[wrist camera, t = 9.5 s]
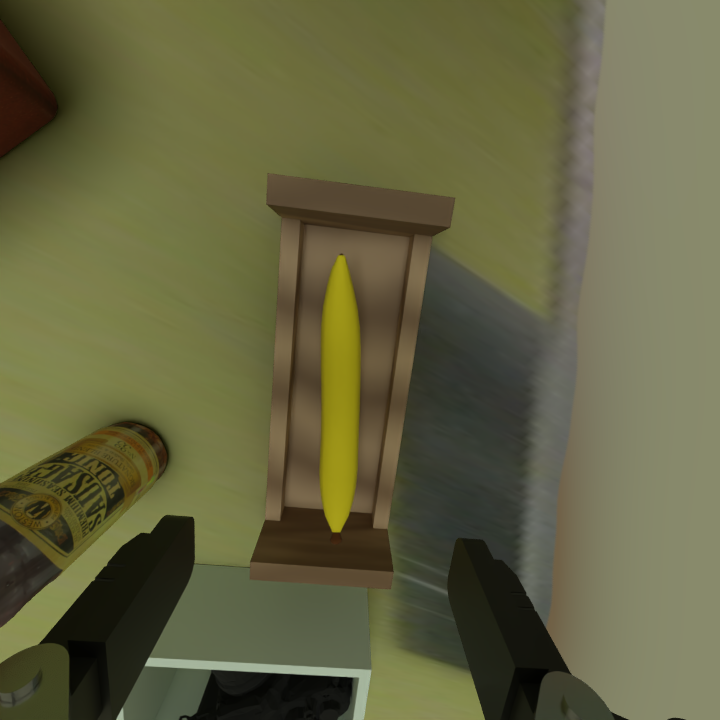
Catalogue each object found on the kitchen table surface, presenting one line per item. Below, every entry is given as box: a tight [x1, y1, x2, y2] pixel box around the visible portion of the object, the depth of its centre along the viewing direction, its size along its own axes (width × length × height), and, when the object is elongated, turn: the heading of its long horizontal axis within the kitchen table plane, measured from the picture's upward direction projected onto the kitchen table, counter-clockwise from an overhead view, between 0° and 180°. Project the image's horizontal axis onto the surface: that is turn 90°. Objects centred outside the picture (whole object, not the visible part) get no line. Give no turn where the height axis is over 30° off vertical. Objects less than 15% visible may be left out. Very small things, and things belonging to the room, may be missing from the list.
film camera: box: [179, 670, 353, 720], centre depth 29 cm, size 15×10×9 cm, turn 111°
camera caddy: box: [116, 564, 371, 720], centre depth 30 cm, size 14×19×8 cm
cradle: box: [249, 173, 455, 589], centre depth 24 cm, size 26×10×7 cm, turn 174°
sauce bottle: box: [0, 422, 167, 627], centre depth 19 cm, size 7×6×20 cm
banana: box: [319, 253, 361, 545], centre depth 24 cm, size 3×19×6 cm, turn 178°
